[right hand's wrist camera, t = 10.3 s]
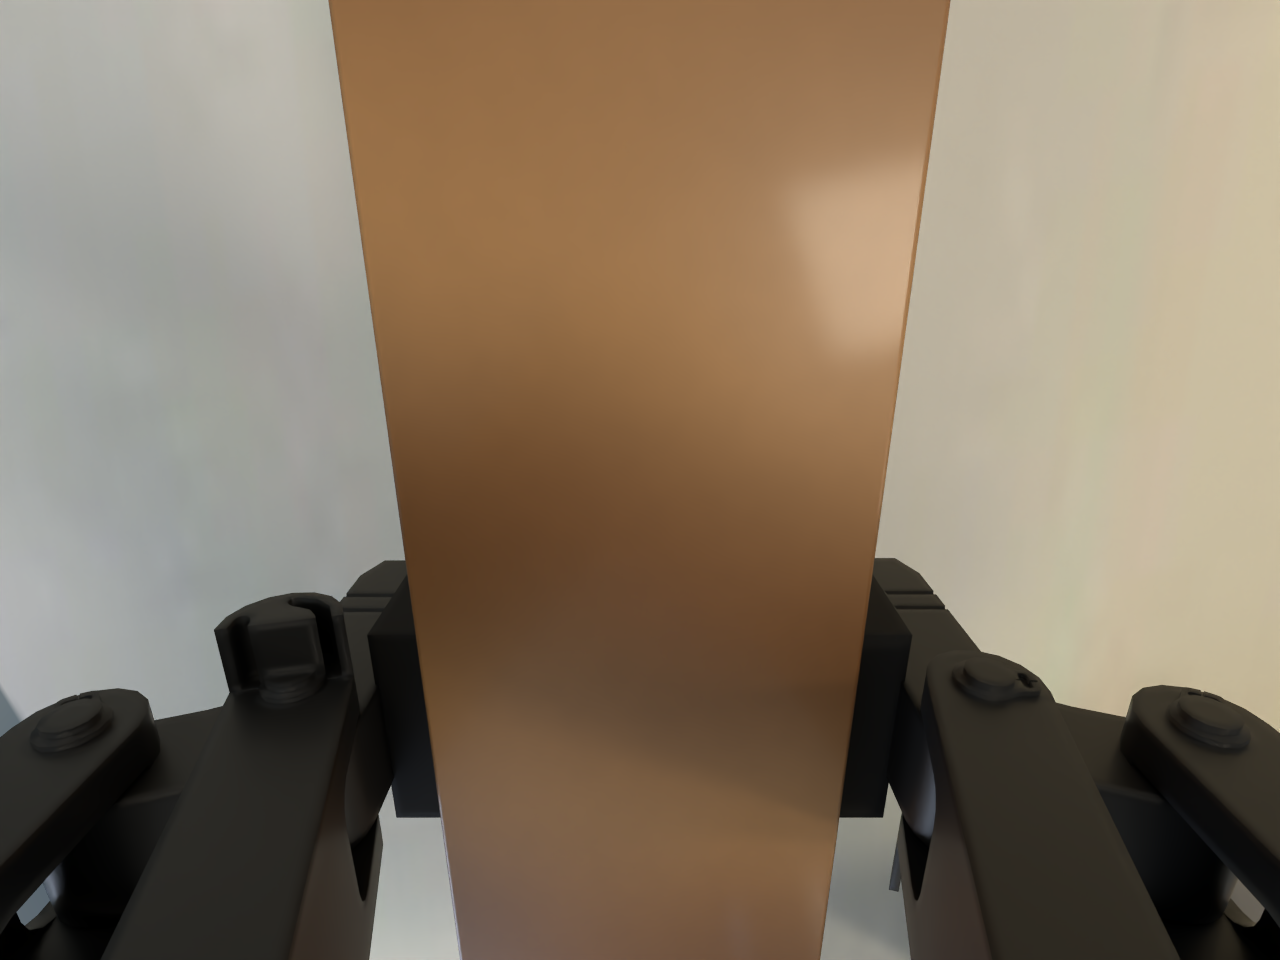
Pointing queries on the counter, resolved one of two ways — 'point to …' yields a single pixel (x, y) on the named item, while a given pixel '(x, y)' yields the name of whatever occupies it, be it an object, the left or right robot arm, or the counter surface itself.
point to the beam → (639, 437)
